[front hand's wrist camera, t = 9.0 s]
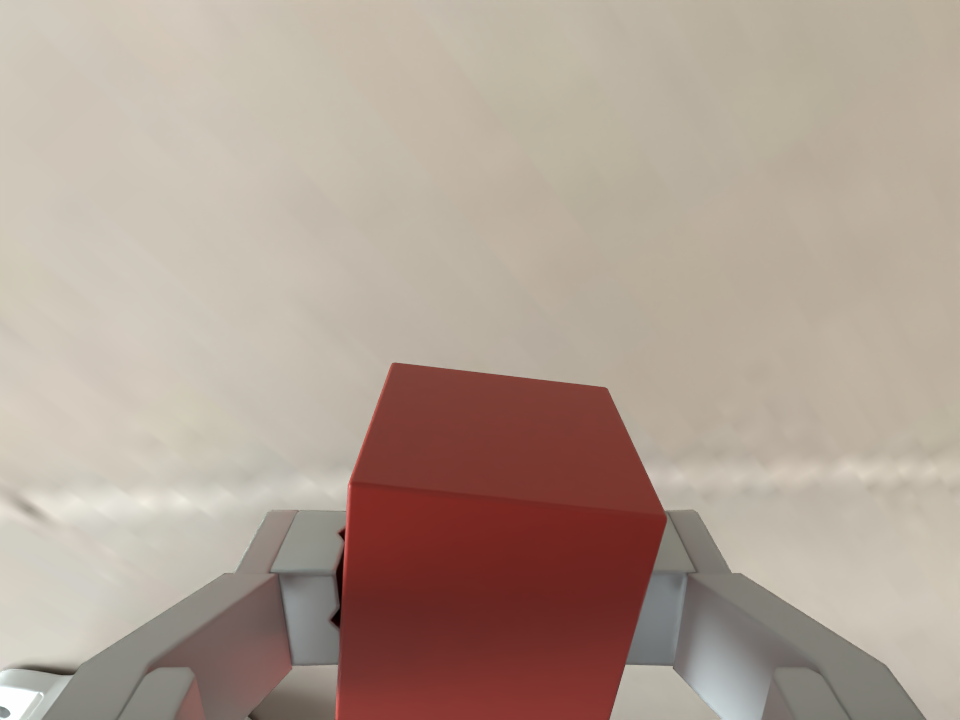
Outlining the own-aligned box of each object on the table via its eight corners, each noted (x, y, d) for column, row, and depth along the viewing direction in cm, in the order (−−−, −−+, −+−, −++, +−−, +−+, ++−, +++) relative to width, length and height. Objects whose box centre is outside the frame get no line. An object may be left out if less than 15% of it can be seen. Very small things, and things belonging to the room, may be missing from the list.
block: (563, 585, 13) (595, 772, 9) (375, 566, 13) (332, 749, 9) (607, 386, 11) (670, 517, 8) (391, 360, 11) (347, 483, 7)
